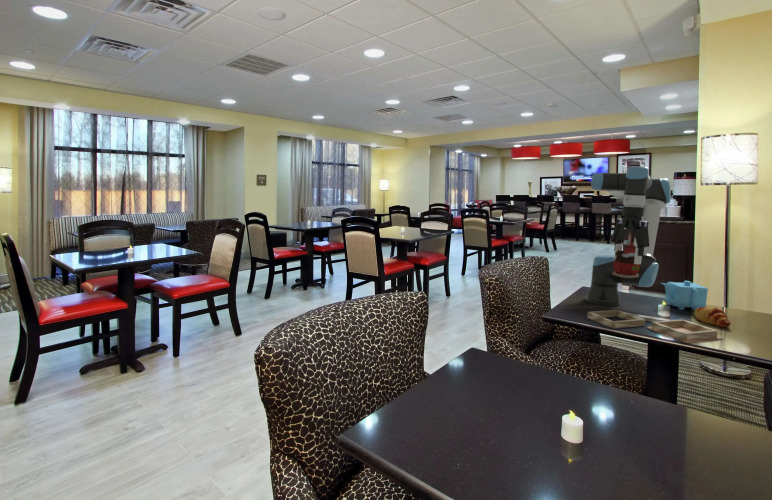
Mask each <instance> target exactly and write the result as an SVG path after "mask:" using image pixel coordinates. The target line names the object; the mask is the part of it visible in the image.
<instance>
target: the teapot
mask: <svg viewBox="0 0 772 500" xmlns="http://www.w3.org/2000/svg"><path fill="white" fill-rule="evenodd" d="M660 284H661V285H663V286H664V290H665V299H664V301H665V302H666V303H669V305H670V307H677V310H681V311H685V308H691V311H695V310H696V309H697V308H700V307H706V304H707V298H708V291H709V288H707V287H706V286H703V285H701V284H697V283H694V282H692V281H689V280H684V281H683V282H676V281H675V282H674V281H667V283H665V282H660Z"/></svg>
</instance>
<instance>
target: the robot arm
mask: <svg viewBox="0 0 772 500" xmlns="http://www.w3.org/2000/svg"><path fill="white" fill-rule="evenodd" d="M649 170H650V169H649V167H647V166H630V167H627V169H626V172H618V173H617V172H614V173H613V172H595V173H593V174H592V176H591V182H590V184H591V190H593V191H602V192H603V191H605V192H607V193H610V194H611V196H612V197H614V198H616V199H619V200H623V202H622V205H623V206H622V208H621V209H622V211H621V216H622V218H615V225H614V229H613V232H612V235H611V238H610V242H612V243H614V249H613V251H614V254H604V255H603V254H602V255H597V256H595V257H594V259H593V263H592V270H591V271H592V272H591V282H590V287H588V288H589V289H588V292H587V293H586V295H585V301H586V302H587V303H590V304H593V305H598V306H607V307H617V306H620V305H621V297H620V292H619V290H618V289H619V288H618V287H619V284H622V285H628V286H634V287H635V286H636V287H639V288H641V287H642V288H650V287H652V286H653V285H654V283H655V281H656V279H657V276H658V272H659V267H660V265H659V263H658V262H657V261H656V260H657V259H656V258H655V257H654V251H655V245H656V239H657V235H658V230H659V229H658V228H659V224H660V217H661V213H662V210H663V209H665V208H666V205H667V204H670V203H671V192H672V191H671V182H670V179H669V178H661V177H657V178H656V177H651V176H650V173H649ZM630 230H631V233H633V236H634V239H633V240H634V241H633V244H634V246H636V250H635V259H634V264H640V270H639V272H638V273H637V274H639V277H633V278H624V277H619V276H617V275H614V274H612V272H613V271H614V268H613V263H614V260H615V258H616V257H617V256H616V255H615V253H616V252H617V250H622V251H623V242H622V241H624V238H625V237H626V234H627V233H629V232H628V231H630Z"/></svg>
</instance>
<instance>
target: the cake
mask: <svg viewBox="0 0 772 500" xmlns="http://www.w3.org/2000/svg"><path fill="white" fill-rule="evenodd" d="M632 233H633V232H628V238H627V240H626V239H623V242H622V245H626V248H625V249H624V250H623V249H622V250H617V252H616V253H615V252H614V255H616V256H617V257H616V258H615V260H614V263H613V268H614V271H613V272H612V274H614V275H617V276H619V277H624V278H633V277H639V274H637V273H638V272H639V270H640V264H634V259H635V250H636V246H634V242H632Z"/></svg>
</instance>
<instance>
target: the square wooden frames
mask: <svg viewBox="0 0 772 500" xmlns="http://www.w3.org/2000/svg"><path fill="white" fill-rule="evenodd" d="M586 314H587V315H586V318H587V319H589V320H592V321H594V322H597V323H599V324H602V325H603V326H607V327H609V328H611V329H621V328H633V327H642V326H643V327H644V326H645V325H646V322H650V323H651V326H646V327H645V329H648V330H650V331H652V332H656V333H659V334H661V335H664V336H666V337H669V338H672V339H675V340H677V341H680V342H682V343H685V344H689V343H690V344H691V343H700V342H709V341H711V342H712V341H719V340H724V338H723V337H721V336H718V332H719V330H716V329H713V328H711V327H707V326H704V325H701V324H697V323H695V322H692V321H689V320H685V319H674V320H673V319H668V318H662V317H656V316H649V315H643V314H638V313H631V312H625V311H622V310H620V309H619V310H618V309H614V310H613V309H611V310H599V311H598V310H597V311H587V313H586ZM610 317H611V318H613V317H619V318H620V319H623V320H615V321H614V320H612V319H608V318H610Z"/></svg>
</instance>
